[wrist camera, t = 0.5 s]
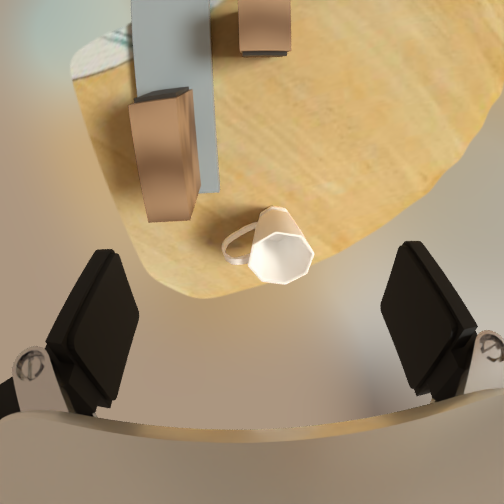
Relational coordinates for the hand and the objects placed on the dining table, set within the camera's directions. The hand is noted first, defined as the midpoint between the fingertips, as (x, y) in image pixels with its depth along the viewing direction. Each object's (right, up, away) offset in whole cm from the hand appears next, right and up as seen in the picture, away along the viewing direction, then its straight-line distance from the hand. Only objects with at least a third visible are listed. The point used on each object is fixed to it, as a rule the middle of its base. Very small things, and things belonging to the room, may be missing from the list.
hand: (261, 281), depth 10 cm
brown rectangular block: (+1, +23, +15) cm, 28 cm away
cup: (+1, +5, +28) cm, 29 cm away
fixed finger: (-8, +13, +20) cm, 26 cm away
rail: (-8, +20, +17) cm, 28 cm away
